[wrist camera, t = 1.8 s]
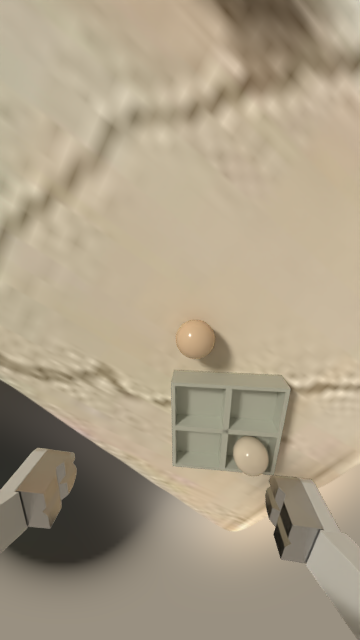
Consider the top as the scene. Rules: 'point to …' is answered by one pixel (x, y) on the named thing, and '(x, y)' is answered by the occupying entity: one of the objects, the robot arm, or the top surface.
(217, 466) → the carton
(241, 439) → the pale egg
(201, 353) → the brown egg
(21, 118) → the top surface
